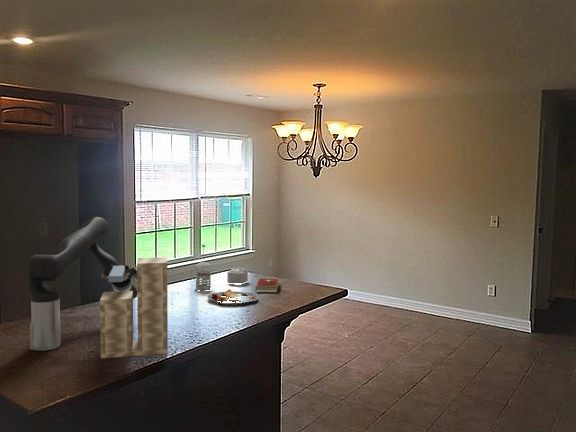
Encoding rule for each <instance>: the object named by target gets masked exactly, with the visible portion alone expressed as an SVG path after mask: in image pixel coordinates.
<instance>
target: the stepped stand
mask: <svg viewBox="0 0 576 432" xmlns="http://www.w3.org/2000/svg"><path fill="white" fill-rule="evenodd" d="M136 270H137V279H136V289H137V297H136V299H137V300H136V301H137V309H136V310H137V317H136V318H137V340H134V299H133V291H117V292H111V291H104V292H103V293H102V294H101V297H100V300H99V317H100V318H99V321H100V323H99V328H100V334H99V335H100V359H108V358H122V357H137V356H138V357H139V356H151V355H165V354H166V355H167V354H169V353H168V352H169V351H168V350H169V349H168V343H169V342H168V341H169V340H168V338H169V337H168V334H169V333H168V332H169V329H168V328H169V327H168V325H169V323H168V313H169V312H168V257H167V256H166V257H163V256H162V257H139V258H137V261H136Z"/></svg>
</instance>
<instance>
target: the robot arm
mask: <svg viewBox="0 0 576 432" xmlns="http://www.w3.org/2000/svg"><path fill="white" fill-rule="evenodd" d="M109 230H110V227H109V223H108V222H107V220H106V219H104V218H103V217H100V216H95V217H92V218H90V219H89V220H87V221H86V222H85V223H83V224H81V225H80V226H79V228H78V230H76V231H74V232H72V233H71V234H69V235H67V236H66V237H65V238H64V239H63V240H61V242H60V243H59V245H58V253H57V254H33V255H32V256H31V257H30V258H29V260H28V264H27V280H28V291H29V295H30V307H31V308H30V309H31V310H30V311H31V313H30V314H31V321H30V323H29V338H30V339H29V340H30V341H29V344H30V345H29V346H30V351H37V352H38V351H49V350H51V351H52V350H54V349H57V348H60V346H62V345H61V344H62V343H61V339H62V337H61V308H60V307H61V303H60V302H61V301H60V300H61V299H60V298H61V297H60V291H59V290H58V289H57V288H54V287H52V286H50V285H49V284H47V282H54V281H58V280H60V279H61V278H62V277H63V276H64V275H65V273H67V271H68V270H69V268H71V266H72V265H73V264H74V263H75V262H76V261H77V260H79V259H80V258H81V257H82V256H84V254H86V252H87V251H88V250H89V251H90V252H91V254H92V255H93V257H94V258H95V259H96V261H97V263H98V264H99V266H100V267H101V269H102V272H101V281H105V280H107V282H108V284H109V285H111V286H112V289H111V291H110V292H117V291H133V300H134V299H137V286H135V285H134V284H133V280H132V279H136V280H137V268H134V267H131V268H130V267H129V265H127V264H124V266H125V275H124V278H123V281H122V282H109V274H110V272H111V270H112V269H113V266H121V265H120V263H119V261H118V260H117V259H116V258H115V257H114V256H112V255H111V254H109V253H107V252H106V251H104V250H103V249H102V248H101V247H100V245H99V242H98V241H99V240H101V239H103V238H104V237H105V236H107V234H108V233H109Z"/></svg>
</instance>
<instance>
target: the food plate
mask: <svg viewBox="0 0 576 432" xmlns="http://www.w3.org/2000/svg"><path fill="white" fill-rule="evenodd" d="M238 294H241V295H242V296H251V297H248V298H249V299H248V300H246V301H249V300H251V299H254V300H252V301H249V302H245V303H244V302H242V303H244V304H248V303H251V302H255V301H257V300H258V299H259V296H257V295H256V294H255V293H251V292H244V291H235V290H234V291H232V290H231V289H227V290H225V291H219V292H214V293H211V294H209V295H207V300H209V301H211V302H214V303H215V302H216V303H220V302H217V301H221V303H220V305H226V304H227V305H228V304H232V305H231V306H234V305H233V304H239V305H242V304H241V303H236V301H239V300H229V301H232V302H235V303H222V302H223V301H227V300H228V299H229V297H230V298H235V297H240V296H241V295H238ZM221 296H226V297H221ZM227 297H228V298H227ZM241 298H242V297H241ZM246 298H247V297H246ZM236 299H238V298H236ZM239 302H241V301H239ZM216 303H215V304H216Z"/></svg>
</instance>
